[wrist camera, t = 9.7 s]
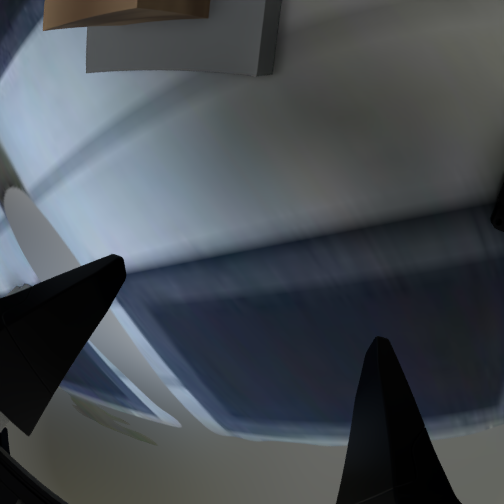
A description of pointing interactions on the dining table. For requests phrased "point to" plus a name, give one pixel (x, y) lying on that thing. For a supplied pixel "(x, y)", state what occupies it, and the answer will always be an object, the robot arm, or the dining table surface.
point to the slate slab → (192, 41)
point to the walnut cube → (119, 12)
